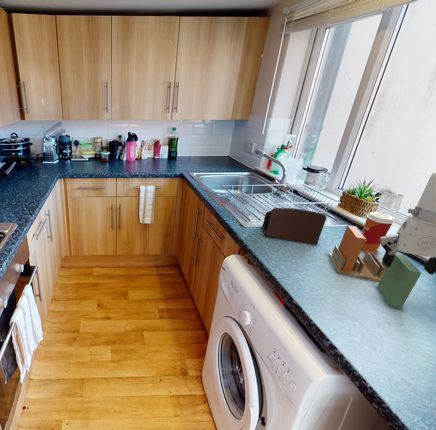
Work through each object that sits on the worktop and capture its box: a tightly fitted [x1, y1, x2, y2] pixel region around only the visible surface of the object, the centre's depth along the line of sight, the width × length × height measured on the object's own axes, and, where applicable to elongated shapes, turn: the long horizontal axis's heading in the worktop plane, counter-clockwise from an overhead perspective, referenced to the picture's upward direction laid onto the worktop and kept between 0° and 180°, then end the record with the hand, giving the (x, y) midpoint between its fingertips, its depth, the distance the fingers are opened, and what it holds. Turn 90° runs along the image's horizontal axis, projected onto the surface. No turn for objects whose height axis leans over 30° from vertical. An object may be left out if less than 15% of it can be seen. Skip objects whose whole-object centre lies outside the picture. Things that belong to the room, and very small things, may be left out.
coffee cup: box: [361, 211, 395, 254], centre depth 112 cm, size 8×8×15 cm
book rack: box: [328, 245, 387, 283], centre depth 101 cm, size 17×13×5 cm
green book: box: [376, 253, 422, 310], centre depth 86 cm, size 3×10×13 cm, turn 157°
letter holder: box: [261, 207, 327, 246], centre depth 122 cm, size 10×20×14 cm, turn 71°
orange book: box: [338, 224, 366, 271], centre depth 101 cm, size 3×10×13 cm, turn 157°
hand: (406, 268), depth 84 cm, fingers open, 9 cm apart
